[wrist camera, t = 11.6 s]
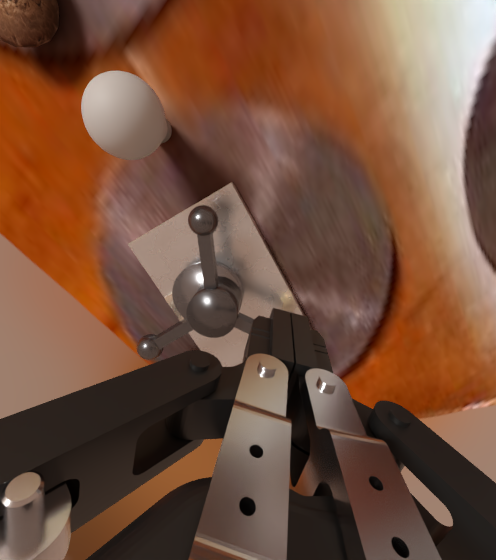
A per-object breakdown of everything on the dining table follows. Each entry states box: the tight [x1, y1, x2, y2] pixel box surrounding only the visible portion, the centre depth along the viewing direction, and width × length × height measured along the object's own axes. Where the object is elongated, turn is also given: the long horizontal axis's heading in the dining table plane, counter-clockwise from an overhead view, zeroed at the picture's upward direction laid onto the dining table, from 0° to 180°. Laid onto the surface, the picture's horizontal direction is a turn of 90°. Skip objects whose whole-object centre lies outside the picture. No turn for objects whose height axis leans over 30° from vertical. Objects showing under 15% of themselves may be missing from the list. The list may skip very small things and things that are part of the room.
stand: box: [128, 182, 312, 367], centre depth 35 cm, size 20×14×2 cm
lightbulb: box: [81, 71, 172, 160], centre depth 25 cm, size 6×6×11 cm
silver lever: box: [137, 205, 254, 360], centre depth 30 cm, size 18×16×6 cm
